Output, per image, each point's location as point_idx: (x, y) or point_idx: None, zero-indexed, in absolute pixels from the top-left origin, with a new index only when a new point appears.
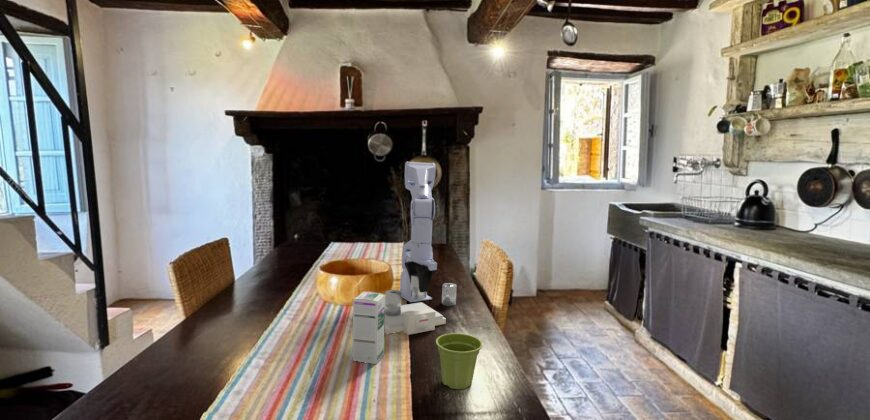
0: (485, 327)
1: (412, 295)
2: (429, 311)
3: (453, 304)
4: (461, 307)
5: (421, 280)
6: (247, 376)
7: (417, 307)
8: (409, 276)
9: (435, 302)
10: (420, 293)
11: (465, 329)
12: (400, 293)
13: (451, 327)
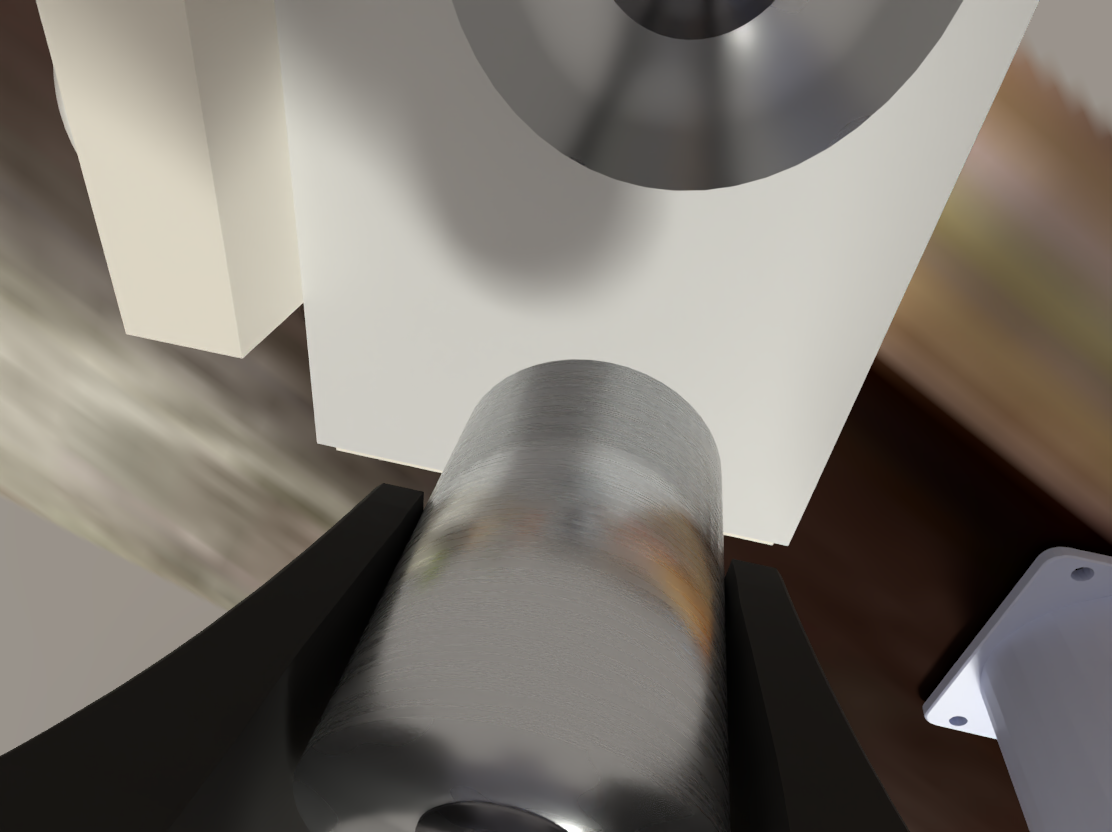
0: (195, 566)
1: (566, 383)
2: (143, 273)
3: None
4: None
5: (158, 674)
6: None
7: None
8: (850, 770)
9: (844, 681)
10: (438, 482)
11: (196, 451)
12: (480, 44)
13: (267, 400)
